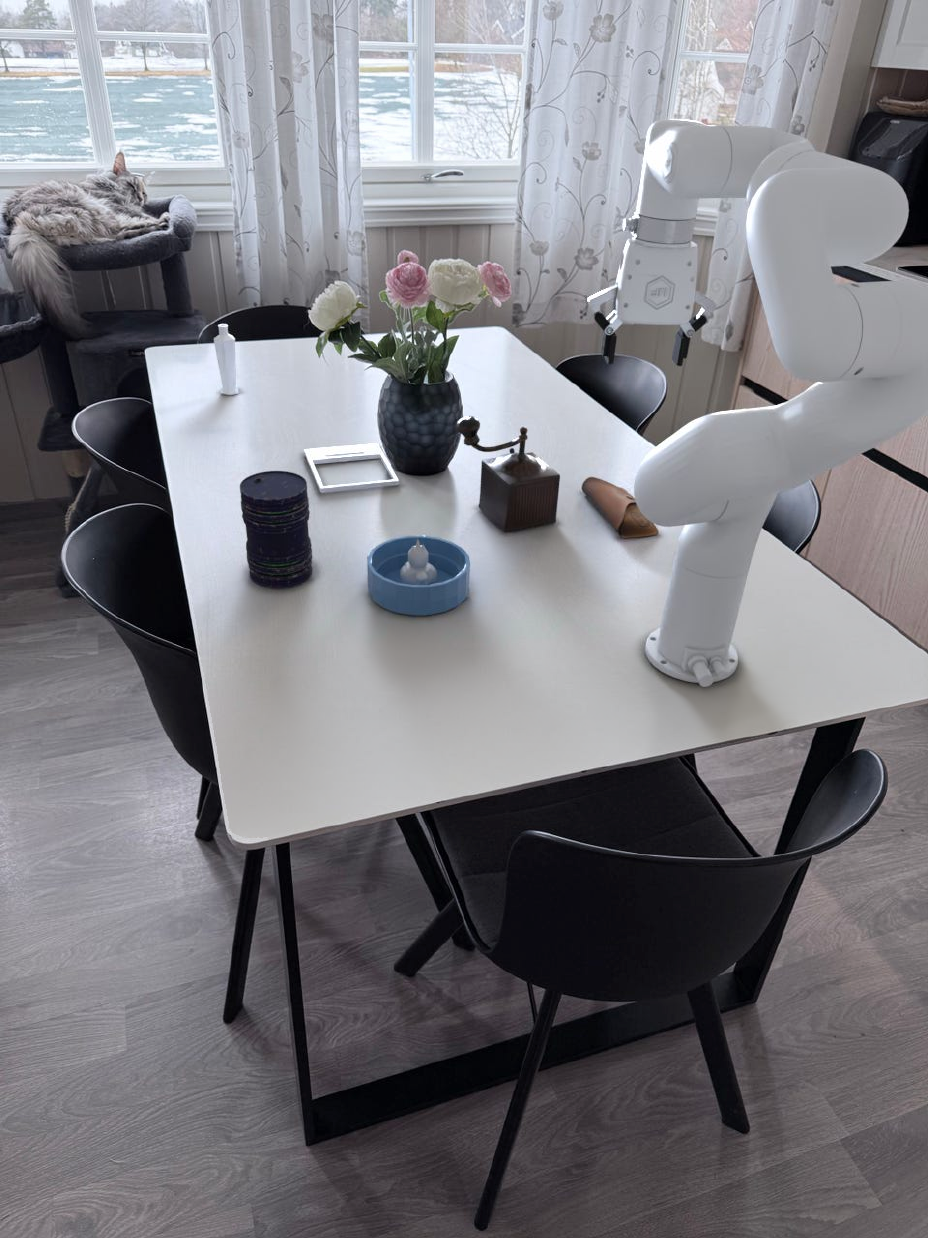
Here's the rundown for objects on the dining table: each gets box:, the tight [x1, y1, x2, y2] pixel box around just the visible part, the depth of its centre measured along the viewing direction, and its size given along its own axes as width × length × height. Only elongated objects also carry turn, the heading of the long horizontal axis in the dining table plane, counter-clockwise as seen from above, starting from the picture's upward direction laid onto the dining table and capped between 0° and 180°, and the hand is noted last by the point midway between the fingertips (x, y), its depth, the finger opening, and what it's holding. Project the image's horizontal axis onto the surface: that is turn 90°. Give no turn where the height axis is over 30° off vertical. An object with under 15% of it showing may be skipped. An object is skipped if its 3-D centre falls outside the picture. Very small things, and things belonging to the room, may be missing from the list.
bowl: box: [366, 535, 471, 616], centre depth 134 cm, size 15×15×5 cm
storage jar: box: [239, 470, 313, 590], centre depth 134 cm, size 10×10×15 cm
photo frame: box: [303, 442, 400, 494], centre depth 170 cm, size 15×1×18 cm
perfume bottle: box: [213, 323, 240, 396], centre depth 198 cm, size 5×4×15 cm
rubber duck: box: [400, 539, 437, 585], centre depth 133 cm, size 5×7×8 cm
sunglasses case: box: [580, 476, 660, 540], centre depth 158 cm, size 18×7×7 cm
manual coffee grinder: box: [456, 415, 561, 533], centre depth 151 cm, size 16×11×18 cm
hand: (642, 362), depth 124 cm, fingers open, 9 cm apart
